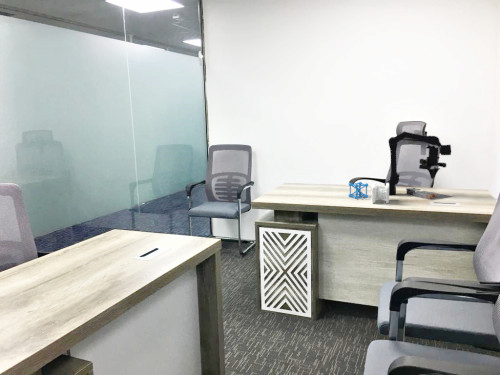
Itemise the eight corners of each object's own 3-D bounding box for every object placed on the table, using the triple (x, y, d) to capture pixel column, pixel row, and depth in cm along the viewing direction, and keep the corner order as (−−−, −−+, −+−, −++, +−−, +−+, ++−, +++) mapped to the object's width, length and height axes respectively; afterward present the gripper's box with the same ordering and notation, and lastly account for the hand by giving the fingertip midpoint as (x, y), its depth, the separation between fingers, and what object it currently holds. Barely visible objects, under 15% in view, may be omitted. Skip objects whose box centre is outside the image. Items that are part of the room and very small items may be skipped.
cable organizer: (388, 204, 252) (389, 186, 250) (371, 204, 255) (371, 185, 253) (388, 199, 266) (389, 182, 264) (372, 199, 269) (372, 182, 267)
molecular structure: (347, 196, 280) (347, 182, 278) (360, 195, 283) (360, 181, 281) (355, 199, 271) (355, 184, 269) (368, 198, 273) (369, 183, 272)
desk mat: (432, 201, 257) (432, 200, 257) (402, 194, 280) (402, 193, 280) (454, 197, 266) (454, 196, 265) (423, 191, 288) (423, 190, 288)
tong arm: (416, 194, 275) (416, 191, 275) (418, 194, 276) (418, 190, 276) (434, 197, 263) (434, 194, 263) (436, 197, 264) (436, 193, 264)
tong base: (406, 194, 278) (406, 187, 278) (412, 193, 281) (412, 186, 280) (429, 199, 261) (429, 191, 260) (435, 198, 263) (435, 190, 262)
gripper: (433, 153, 278) (432, 176, 280) (413, 155, 270) (412, 178, 273) (447, 154, 268) (446, 178, 270) (426, 156, 260) (425, 180, 263)
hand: (432, 178), depth 269 cm, fingers closed
